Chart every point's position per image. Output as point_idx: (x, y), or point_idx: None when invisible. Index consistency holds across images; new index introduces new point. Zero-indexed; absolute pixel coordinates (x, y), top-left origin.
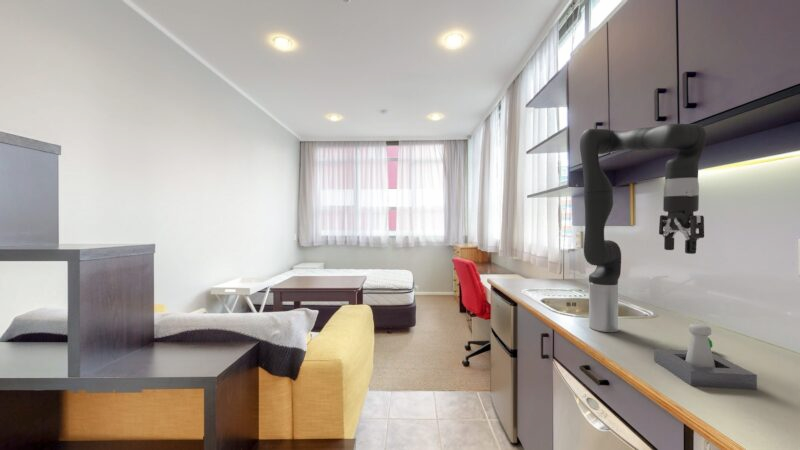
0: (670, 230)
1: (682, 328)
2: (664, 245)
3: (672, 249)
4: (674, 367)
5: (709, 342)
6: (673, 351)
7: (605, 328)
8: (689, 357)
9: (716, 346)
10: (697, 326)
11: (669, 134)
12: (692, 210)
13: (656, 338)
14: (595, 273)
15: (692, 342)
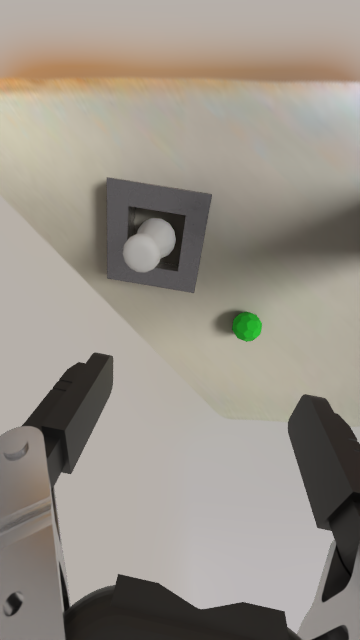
0: (342, 618)
1: (340, 377)
2: (336, 419)
3: (291, 422)
4: (151, 184)
5: (233, 330)
6: (196, 226)
7: None
8: (155, 222)
9: (254, 355)
10: (131, 242)
11: None
12: None
13: (311, 292)
14: None
15: (149, 232)
